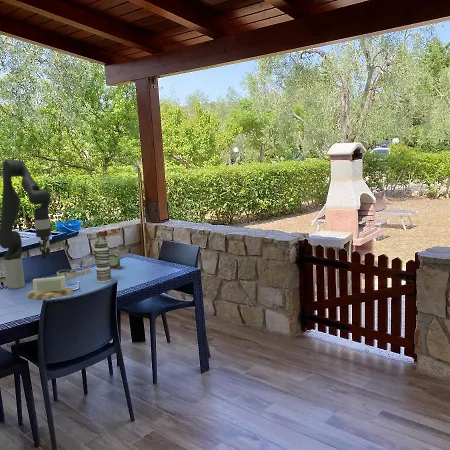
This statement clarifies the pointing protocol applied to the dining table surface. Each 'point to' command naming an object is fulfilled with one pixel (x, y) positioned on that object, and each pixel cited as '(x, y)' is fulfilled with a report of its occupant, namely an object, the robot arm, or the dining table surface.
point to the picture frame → (49, 284)
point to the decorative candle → (102, 261)
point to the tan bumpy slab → (50, 294)
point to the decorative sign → (72, 273)
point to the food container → (114, 261)
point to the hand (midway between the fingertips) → (46, 257)
